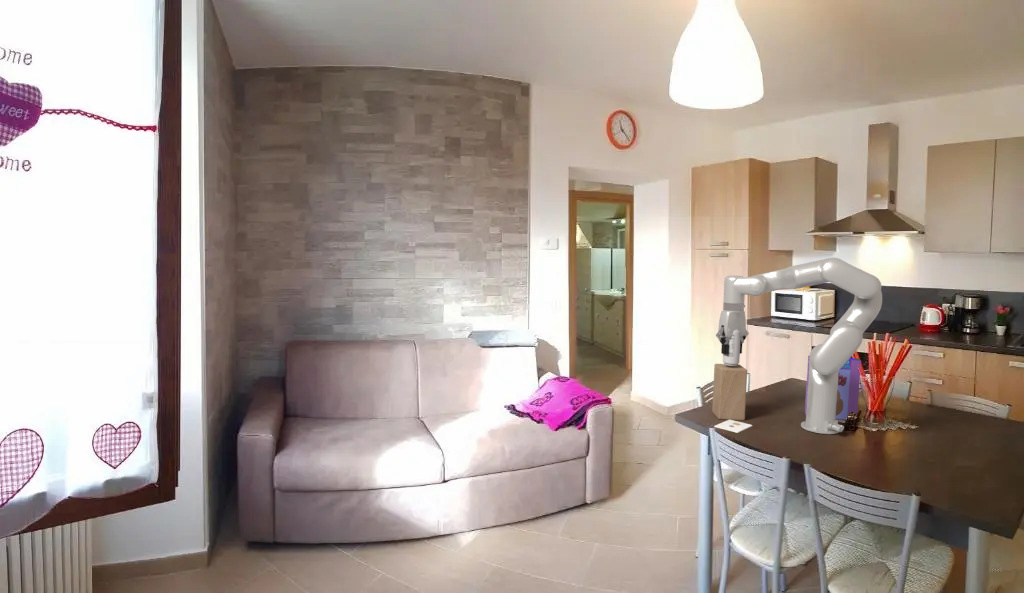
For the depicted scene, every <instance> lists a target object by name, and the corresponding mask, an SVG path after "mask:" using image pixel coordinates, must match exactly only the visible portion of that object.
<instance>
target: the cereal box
mask: <svg viewBox="0 0 1024 593" xmlns="http://www.w3.org/2000/svg"><path fill="white" fill-rule="evenodd" d="M809 356H810V355H808V356H807V372H806V385H805V388H806V389H805V402H804V403H805V405H804V415H805V416H806V410H807V395H808V380H809ZM858 364H859V366H858ZM860 365H861V367H860ZM857 367H858V368H859V370H860V369H861V368H862V360H861V359H860V358H857V357H850V358H849V360H848V361H847V362H846V363H845V364H844V365H843V366H842V367H841V369H840V370H839V372H838V390H837V404H836V418H835V419H836V420H838V421H839V420H842V421H847V420H846V418H847V417H848V414H849V413H851V412H854V413H857V414H858V411H859V410H858V409H859V395H860V383H861V382H860V381H861V372H860V373H859V371H858V368H857ZM861 370H862V369H861ZM861 370H860V371H861Z"/></svg>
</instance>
